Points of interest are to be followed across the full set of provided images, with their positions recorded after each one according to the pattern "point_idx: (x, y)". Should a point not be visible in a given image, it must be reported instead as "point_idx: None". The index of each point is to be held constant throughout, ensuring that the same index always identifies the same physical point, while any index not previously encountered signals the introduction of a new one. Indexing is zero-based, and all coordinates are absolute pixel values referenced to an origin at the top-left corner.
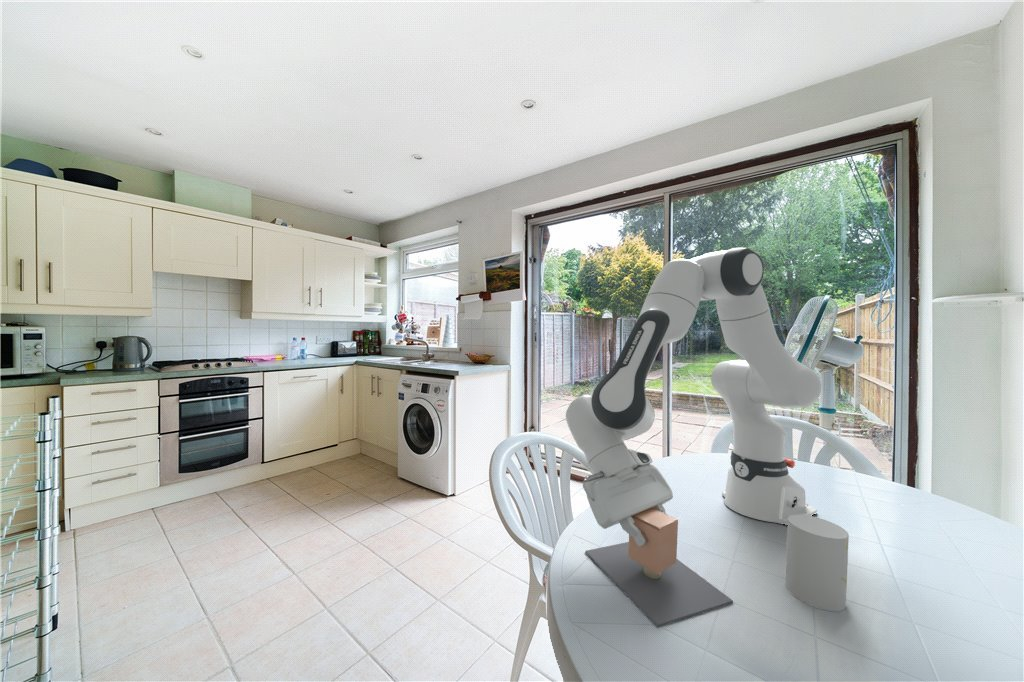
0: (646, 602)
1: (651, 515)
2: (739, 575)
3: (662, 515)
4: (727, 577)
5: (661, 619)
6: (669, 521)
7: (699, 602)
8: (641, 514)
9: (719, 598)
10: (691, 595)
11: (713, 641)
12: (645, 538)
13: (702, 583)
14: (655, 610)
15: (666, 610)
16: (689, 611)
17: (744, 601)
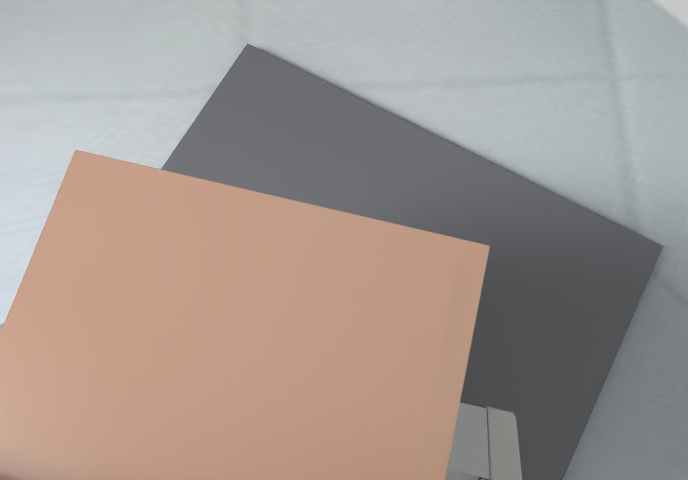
0: (559, 337)
1: (189, 457)
2: (5, 62)
3: (90, 331)
4: (57, 99)
5: (616, 242)
6: (209, 208)
7: (365, 146)
8: None
9: (271, 87)
10: (340, 184)
11: (546, 65)
12: (466, 417)
13: (204, 168)
14: (578, 283)
15: (540, 242)
16: (463, 164)
17: (203, 19)
